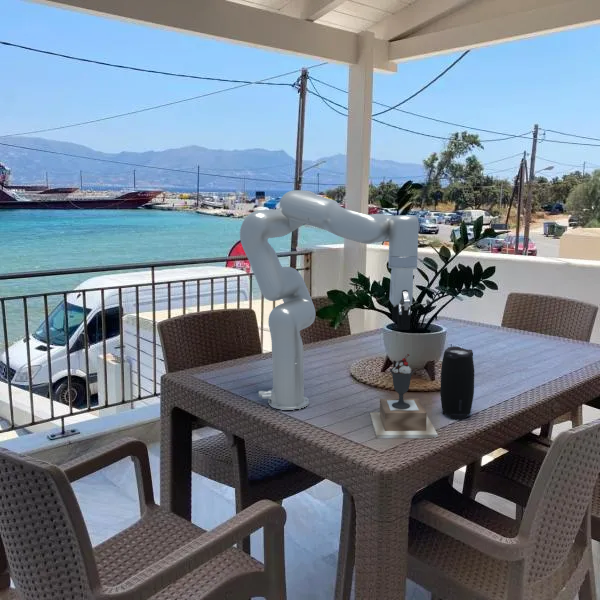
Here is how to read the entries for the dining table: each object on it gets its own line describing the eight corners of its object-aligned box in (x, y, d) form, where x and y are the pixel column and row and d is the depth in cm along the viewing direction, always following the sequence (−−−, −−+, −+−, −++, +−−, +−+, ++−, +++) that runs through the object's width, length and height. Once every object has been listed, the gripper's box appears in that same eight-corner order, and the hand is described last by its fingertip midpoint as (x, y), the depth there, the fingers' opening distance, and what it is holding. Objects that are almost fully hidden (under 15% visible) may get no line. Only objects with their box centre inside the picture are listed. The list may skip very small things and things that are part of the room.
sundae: (413, 410, 152) (415, 356, 150) (388, 409, 154) (389, 355, 151) (413, 402, 159) (414, 350, 156) (389, 401, 160) (390, 349, 157)
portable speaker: (442, 408, 171) (444, 344, 168) (474, 412, 168) (477, 347, 164) (436, 417, 164) (439, 351, 160) (470, 422, 160) (473, 355, 156)
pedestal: (376, 438, 150) (376, 416, 149) (369, 415, 166) (370, 395, 165) (437, 438, 150) (438, 415, 149) (425, 415, 166) (425, 394, 165)
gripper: (384, 258, 160) (383, 318, 163) (393, 266, 143) (391, 332, 146) (411, 258, 160) (409, 318, 163) (423, 266, 143) (420, 332, 146)
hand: (400, 325), depth 154 cm, fingers open, 9 cm apart
